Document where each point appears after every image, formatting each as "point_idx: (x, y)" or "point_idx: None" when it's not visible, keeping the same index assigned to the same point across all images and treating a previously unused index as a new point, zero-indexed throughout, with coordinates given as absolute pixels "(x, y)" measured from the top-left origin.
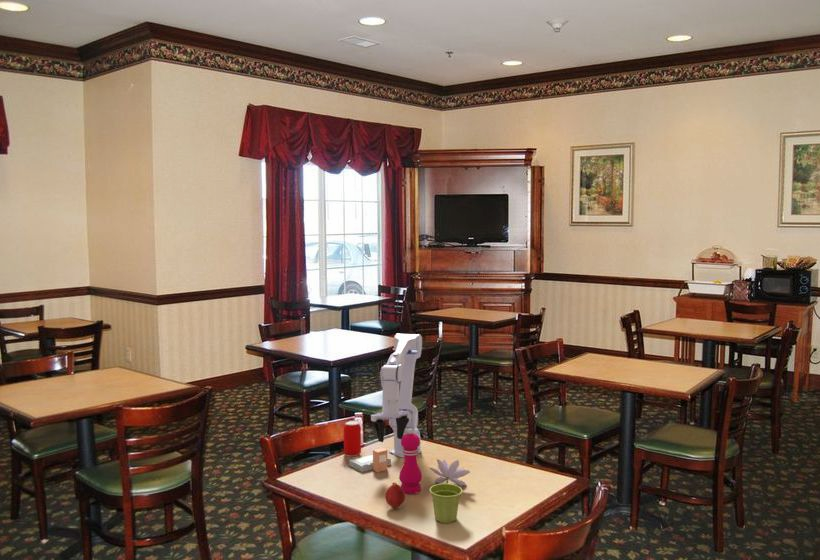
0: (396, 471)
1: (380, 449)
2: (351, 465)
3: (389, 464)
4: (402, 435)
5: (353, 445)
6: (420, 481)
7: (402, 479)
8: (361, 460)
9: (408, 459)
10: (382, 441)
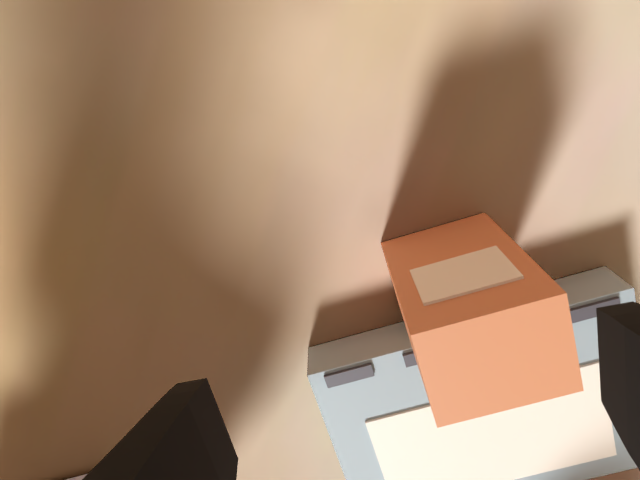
0: (316, 179)
1: (483, 381)
2: None
3: (322, 346)
4: (149, 418)
5: None
6: None
7: None
8: (573, 421)
9: None
10: (622, 306)
